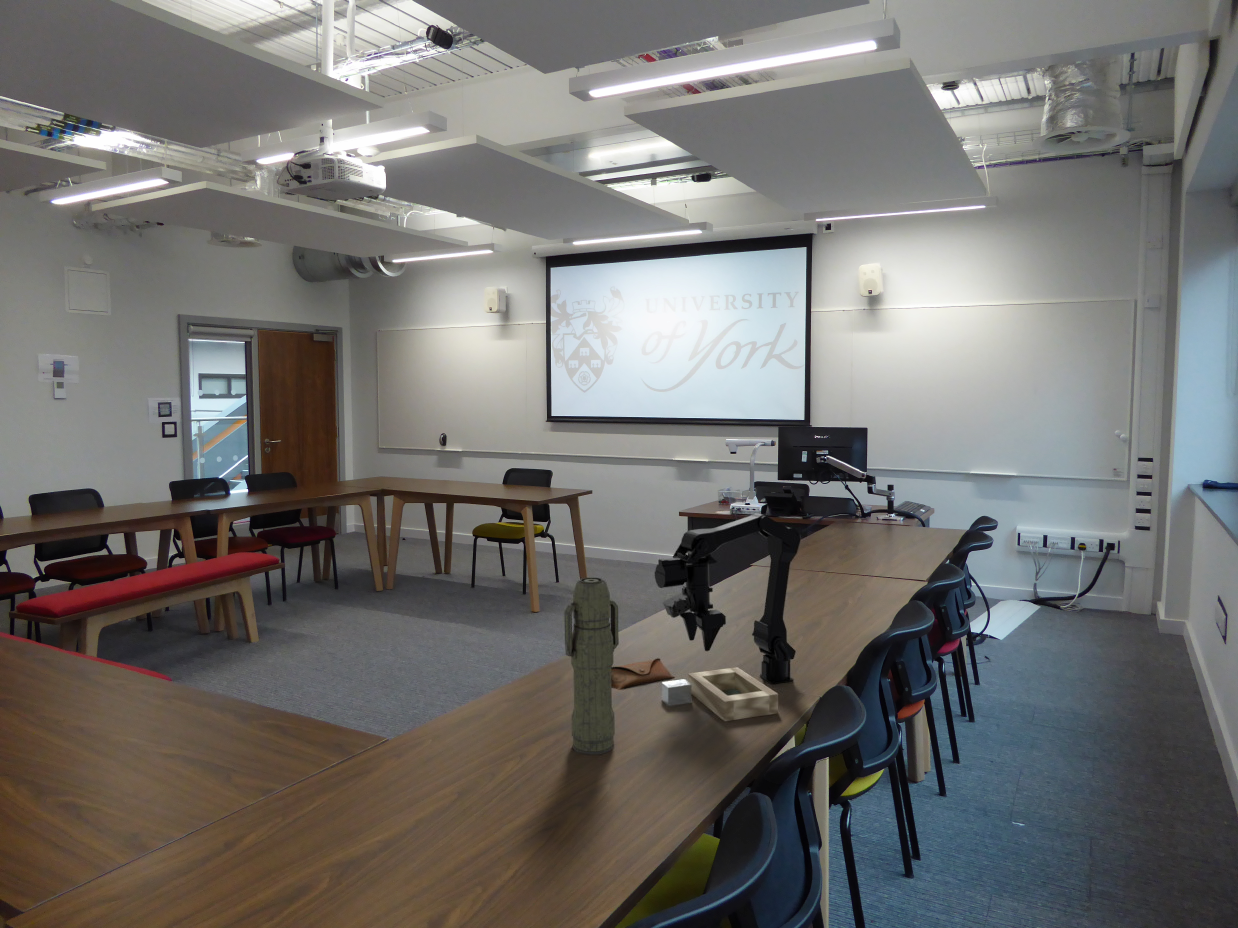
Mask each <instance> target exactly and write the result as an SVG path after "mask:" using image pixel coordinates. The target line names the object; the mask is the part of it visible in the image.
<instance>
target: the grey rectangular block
mask: <svg viewBox="0 0 1238 928" xmlns="http://www.w3.org/2000/svg"><path fill="white" fill-rule="evenodd" d="M692 696H693V695H692V685H691V684H690V683H689V682H688V680H687V679H686V678H685V679H684V678H683V679H677V680H668V681H662V682H661V701H662V702H663V703H665V704H666V706H668V707H669V706H677V705H678V706H679V705H684V704H685V705H686V704H691V703H693V700H692V699H693V697H692Z"/></svg>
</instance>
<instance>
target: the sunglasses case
mask: <svg viewBox="0 0 1238 928" xmlns="http://www.w3.org/2000/svg"><path fill="white" fill-rule="evenodd" d="M675 678H676V677H675V676H673V675H672V674H671V672H670V671H669V670H668V668H667V667H666V666H665V664H664V663H663V662H662V661H661V658H658V657H657V658H655V659H651V660H647V661H646V660H645V661H640V662H634V663H630V664H625V665H619V666H612V667H611V688H614V689H617V690H619V691H620V690H623V689H627V688H631V687H636V686H640V685H644V684H650V683H654V682H660V681H665V680H672V679H675Z"/></svg>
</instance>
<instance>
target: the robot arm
mask: <svg viewBox="0 0 1238 928" xmlns="http://www.w3.org/2000/svg"><path fill="white" fill-rule="evenodd" d="M756 533H759V534H760V535H762V536H763V537H764V538H765V539H766V541H767V542H766V543H767V544H766V545H767V546H766V547H767V552H768V554H769V558H770V563H769V572H768V580H767V581H768V582H767V587H766V595H765V603H764V611H763V615H762V617H761V618H760V620H756V619H755V620H754V622H753V630H752V631H753V632H752V634H751V636H752V637H753V641H754V643H755V645H756V647H758V650H759V652H760V653H761V654H763V655H762V660H761V673H760V674H759V677H760V678H761V679H763V680H764V681H766V682H768V683H770V684H771V685H776V684H783V683H790V682H794V680H795V679H794V678H793V677H791V660H795V659H794V658H795V655H796V652H797V651H796V650H795V648H793V647H792V645H790V643H789V642H788V631H787V627H786V625H785V620H784V613H785V607H786V606H785V605H786V600H787V599H786V598H787V590H788V584H789V575H790V569H791V562H792V561H793V560H794V558H795V557H796V555H797V553H798V551H799V548H800V546H801V545H800V544H801V534H800V533H799V531H798V530H797V529H796V528H792V527H788V526H785V525H783V524H781V523H779V522H778V521H775V520H774V519H772V518H770V517H769V516H768V515H767V514H764V513H763V514H762V513H758V512H755V513H752V514H751V515H749V516H745V517H743V518H741V519H737V520H735V521H731V522H728V523H725V524H723V525H719V526H717V527H713V528H712V527H711V528H697V529H691V530H687V531H686V532H684V533H683V535H682V538H681V542H680V544H679V545H678V547H677V549H676V550H675V552H674V554H673V556H672V558H660V559H658V561H657V562H658V564H657V565H656V567H655V571H654V579H655V583H656V586H658V588H660V589H665V588H672V587H679V586H680V587H681V586H682V588H681V593H678V594H676V595H674V596H671V597H670V598H668V599H665V600H664V601H663V602H662V604H663V607H664V608H665V611H666V614H667V615H668V616H670V617H671V618H677V617H681V618H682V621H683V624H684V626H685V629H686V633H687V638H688V640H689V641H694V640H695V638H696V633H697V631H698V629H699V630H701V636H702V644H703V648H704V651H705V652H710V650H711V648H712V646H713V644H714V642H715V640H716V638H717V635H718V634H719V631H720V630H721V628H723V627H724V626H725V625H727V618H726V617H727V616H726V615H725V614H724V613H723V612H721V611H720V610H718V609H714V604H713V603H712V602H711V601H710V600H711V596H710V595H711V594H710V593H712V592H713V589H714V588H713V586H710V565H715V564H717V563H718V560H716V559H715V558H714V557H713V556H712V553H714V552H716V551H717V550H718V549H719V548H720V547H721V546H723V545H725V544H727V543H730V542H734V541H737V540H739V539H741V538H744V537H747V536H751V535H753V534H756Z"/></svg>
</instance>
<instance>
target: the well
mask: <svg viewBox="0 0 1238 928" xmlns="http://www.w3.org/2000/svg"><path fill="white" fill-rule="evenodd" d="M687 678H688V680H687V681H688V682H689V683H690V684H691V685H692V696H693V697H694V698H696V699H697V700H698V701H700V703H702V704H703V705H704V706H706V708H708V709H709V710H710V711H711V712H713V713H714V714H715V715H716V716H718V717H719V718H720V719H721V720H723V721H724V722H729V721H736V720H741V719H748V718H756V717H760V716H761V717H762V716H768V715H776V714H779V694H778V692H776V691H774V690H773V689H771V688H770V687H768V686H766V685H765V684H763V682H761V681H759V680H758V679H757V678H754V677H753V676H751V674H748V673H747V672H745V671H744V670H742V669H741V668H739V667H738V666H737V667H730V668H720V669H713V670H712V669H711V670H707V671H699V672H690V673H689V672H688V674H687Z"/></svg>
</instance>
